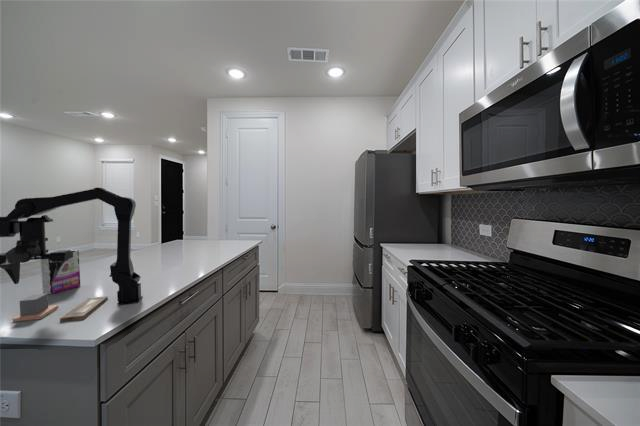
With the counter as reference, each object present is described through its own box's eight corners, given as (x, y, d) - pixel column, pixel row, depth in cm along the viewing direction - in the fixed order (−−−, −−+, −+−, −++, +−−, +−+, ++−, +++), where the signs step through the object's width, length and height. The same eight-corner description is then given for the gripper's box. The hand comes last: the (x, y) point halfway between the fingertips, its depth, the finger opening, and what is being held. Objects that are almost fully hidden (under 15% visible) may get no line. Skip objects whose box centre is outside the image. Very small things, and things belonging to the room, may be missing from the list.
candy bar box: (72, 285, 118) (70, 249, 118) (80, 286, 117) (79, 249, 117) (41, 293, 107) (39, 254, 107) (50, 294, 106) (49, 254, 106)
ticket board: (107, 299, 102) (107, 296, 102) (83, 319, 85) (83, 315, 85) (88, 301, 100) (88, 297, 100) (60, 321, 83) (60, 317, 83)
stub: (58, 307, 94) (57, 291, 93) (41, 318, 85) (40, 300, 85) (32, 310, 91) (32, 293, 91) (12, 321, 83) (11, 303, 83)
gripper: (-29, 240, 76) (-26, 293, 77) (53, 238, 83) (55, 287, 83) (2, 236, 87) (4, 282, 88) (73, 234, 93) (74, 277, 94)
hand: (34, 282), depth 88 cm, fingers open, 9 cm apart
